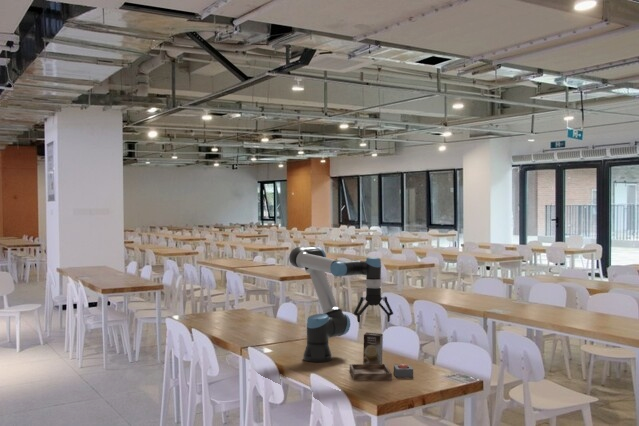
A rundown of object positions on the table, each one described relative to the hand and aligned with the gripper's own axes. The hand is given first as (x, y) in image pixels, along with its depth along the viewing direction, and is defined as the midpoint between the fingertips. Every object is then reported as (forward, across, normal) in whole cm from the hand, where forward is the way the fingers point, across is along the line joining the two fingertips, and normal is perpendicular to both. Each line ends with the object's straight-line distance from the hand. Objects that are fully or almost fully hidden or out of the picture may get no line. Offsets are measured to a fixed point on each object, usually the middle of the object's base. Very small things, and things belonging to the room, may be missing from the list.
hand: (373, 328), depth 305 cm
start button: (+17, +12, -20) cm, 29 cm away
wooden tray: (+19, -4, -19) cm, 27 cm away
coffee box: (+19, 0, 0) cm, 19 cm away
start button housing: (+19, +12, -20) cm, 30 cm away
